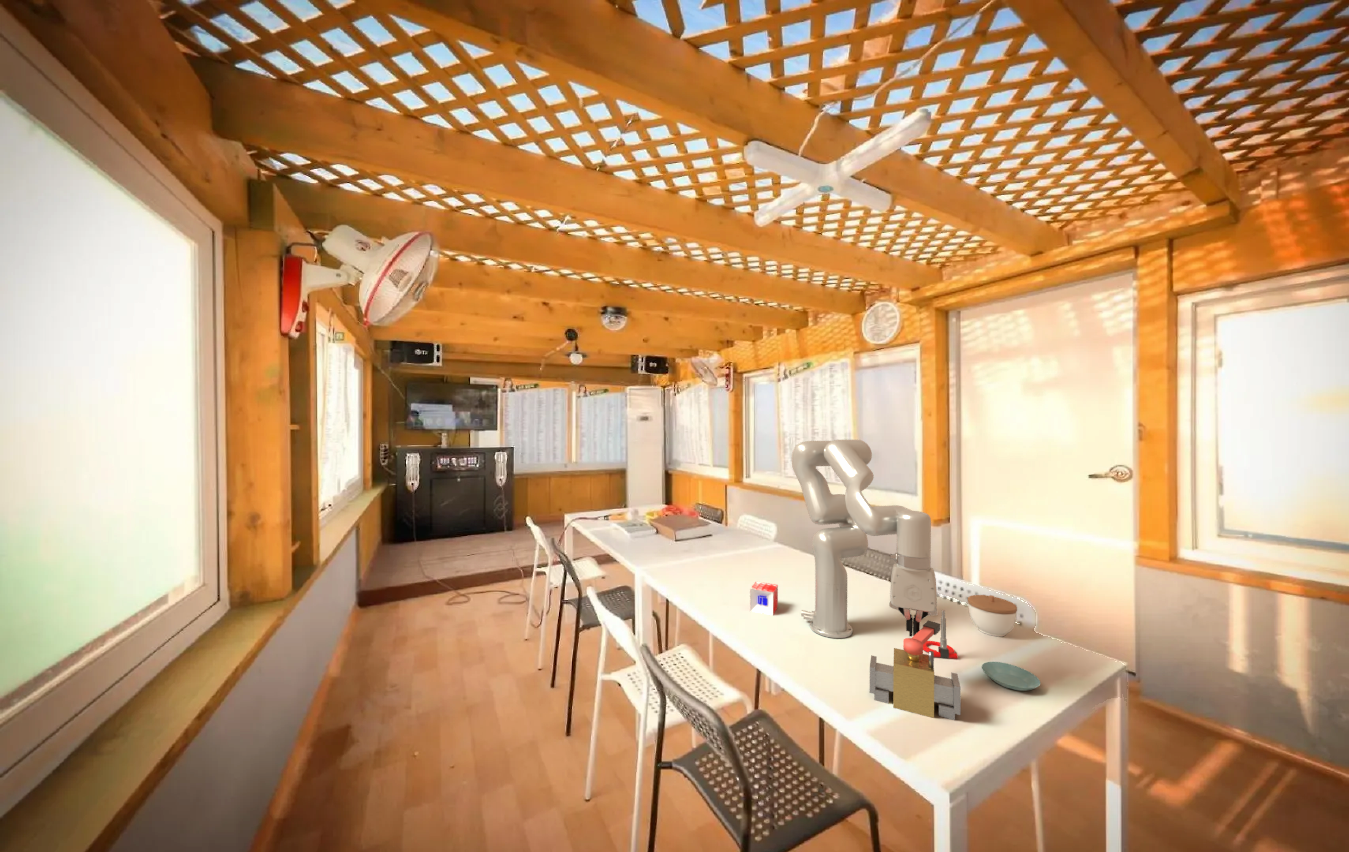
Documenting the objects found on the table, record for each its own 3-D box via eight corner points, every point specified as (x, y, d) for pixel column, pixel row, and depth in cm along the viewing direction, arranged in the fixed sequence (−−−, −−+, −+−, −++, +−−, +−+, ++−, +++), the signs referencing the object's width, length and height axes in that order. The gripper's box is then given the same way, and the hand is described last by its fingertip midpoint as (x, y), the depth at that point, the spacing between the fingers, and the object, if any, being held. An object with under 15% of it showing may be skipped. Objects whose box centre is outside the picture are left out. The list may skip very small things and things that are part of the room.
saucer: (1047, 686, 112) (1047, 676, 112) (1030, 702, 105) (1030, 693, 105) (992, 665, 121) (992, 656, 121) (973, 679, 114) (973, 670, 114)
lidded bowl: (986, 620, 149) (986, 587, 149) (1027, 637, 137) (1027, 601, 137) (958, 625, 145) (958, 591, 145) (997, 643, 133) (997, 606, 133)
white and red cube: (777, 607, 159) (777, 584, 159) (773, 615, 152) (773, 592, 152) (755, 603, 162) (755, 581, 162) (749, 611, 155) (749, 588, 155)
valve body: (869, 701, 104) (869, 643, 104) (871, 683, 112) (871, 629, 112) (960, 724, 96) (961, 661, 96) (956, 704, 104) (957, 645, 104)
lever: (919, 656, 101) (919, 648, 101) (900, 650, 104) (900, 641, 104) (942, 632, 113) (942, 624, 113) (925, 627, 116) (925, 619, 116)
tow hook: (915, 643, 134) (928, 657, 125) (915, 599, 134) (928, 610, 125) (946, 646, 133) (961, 660, 123) (946, 601, 133) (961, 612, 124)
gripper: (879, 560, 113) (879, 634, 113) (949, 570, 106) (948, 648, 106) (881, 553, 120) (880, 622, 120) (947, 561, 113) (946, 635, 113)
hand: (912, 634), depth 113 cm, fingers closed
